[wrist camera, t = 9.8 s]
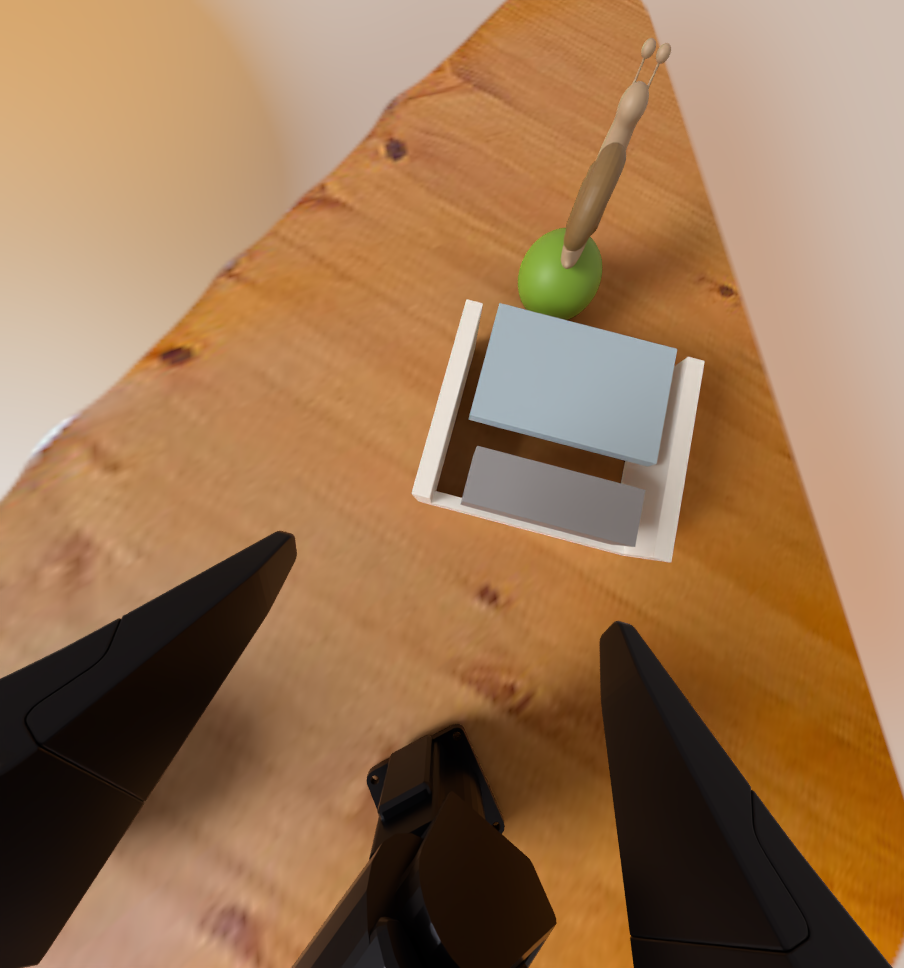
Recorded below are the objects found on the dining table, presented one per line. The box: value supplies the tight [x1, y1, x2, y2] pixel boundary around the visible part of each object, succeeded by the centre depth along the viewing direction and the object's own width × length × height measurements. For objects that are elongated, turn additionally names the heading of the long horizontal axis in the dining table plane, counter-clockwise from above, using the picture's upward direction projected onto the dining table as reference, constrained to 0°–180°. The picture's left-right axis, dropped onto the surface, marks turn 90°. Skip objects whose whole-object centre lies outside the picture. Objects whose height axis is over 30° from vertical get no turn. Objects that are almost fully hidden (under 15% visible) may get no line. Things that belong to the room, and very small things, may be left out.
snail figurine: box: [518, 38, 671, 320], centre depth 19 cm, size 5×6×12 cm
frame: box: [412, 300, 705, 563], centre depth 21 cm, size 14×12×5 cm
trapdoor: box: [460, 303, 677, 547], centre depth 19 cm, size 11×12×2 cm
